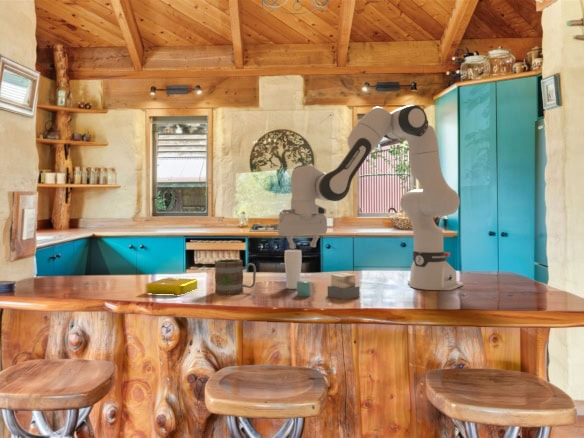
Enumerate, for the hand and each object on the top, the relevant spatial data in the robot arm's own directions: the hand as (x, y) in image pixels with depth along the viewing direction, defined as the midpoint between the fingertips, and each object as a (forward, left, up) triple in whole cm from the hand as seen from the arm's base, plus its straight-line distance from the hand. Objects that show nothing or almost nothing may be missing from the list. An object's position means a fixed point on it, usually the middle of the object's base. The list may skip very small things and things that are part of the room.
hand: (303, 247), depth 147 cm
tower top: (-10, +10, -14) cm, 20 cm away
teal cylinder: (0, 0, -17) cm, 17 cm away
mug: (+17, -20, -18) cm, 32 cm away
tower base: (-10, +10, -18) cm, 23 cm away
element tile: (+35, -37, -18) cm, 54 cm away
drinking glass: (-5, -13, -18) cm, 22 cm away
